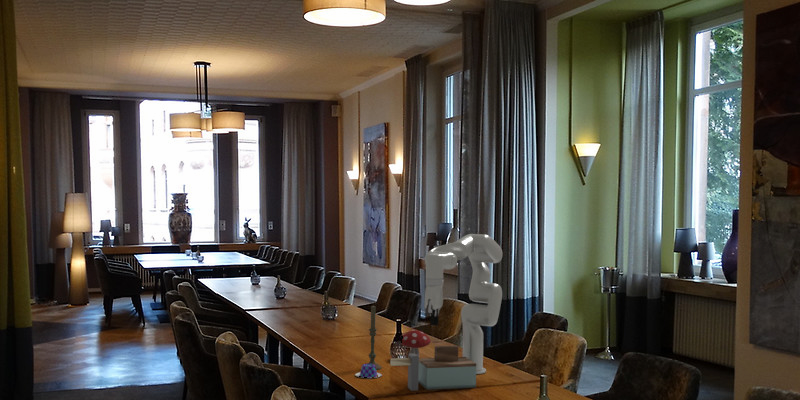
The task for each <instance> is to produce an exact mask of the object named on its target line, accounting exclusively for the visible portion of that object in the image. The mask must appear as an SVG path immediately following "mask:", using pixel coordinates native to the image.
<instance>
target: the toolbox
mask: <svg viewBox="0 0 800 400" xmlns="http://www.w3.org/2000/svg"><path fill="white" fill-rule="evenodd" d="M407 358H411V365H407V389H409V390H410V391H411V392H416V391H419V384H420V385H421V386H422V387H424V389H425V390H427V391H428V390H429V391H430V390H448V389H469V388H470V389H471V388H477V374H476V366H472V367H446V368H426V367H425V366H424V365H422V364H421V363H420V362H419V358H420V355H419V356H418V355H417V354H415V353H414V354H410V353H408V357H407Z"/></svg>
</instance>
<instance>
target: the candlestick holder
mask: <svg viewBox="0 0 800 400" xmlns="http://www.w3.org/2000/svg"><path fill="white" fill-rule="evenodd" d="M368 331H369V333H368V334H369V336H371V337H370V353H369V354H368V358H369V362H367V363H366V364H374V365H375V367H376V371H378V370H381V369H383V367H382V365H380V364H379V363H377V362H376V361H375V359H376V357H377V353H375V351H374V350H375V341H376V340H375V336H376V335H377V331H378V329H377V328H376V306H375V305H374V304H372V306H370V328H369V329H368Z"/></svg>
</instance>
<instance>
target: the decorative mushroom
mask: <svg viewBox="0 0 800 400" xmlns="http://www.w3.org/2000/svg"><path fill="white" fill-rule="evenodd" d="M401 336H403V339H402V344H401V345H402V346H404V347H406V348H409V354H414V353H415V354H417V355H418V356H419V357H420V349H421V348H424V347H427V346H429V345H430V343H431V342H432V340H431V338H430V336H429V335H428V334H426V333H425V332H423V331H420V330H417V329H411V330H408V331H407V332H406V331H405V333H403V334H402V335H401Z"/></svg>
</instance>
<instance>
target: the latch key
mask: <svg viewBox="0 0 800 400" xmlns="http://www.w3.org/2000/svg"><path fill="white" fill-rule="evenodd" d="M389 365H390V366H391V367H398V366H399V367H400V366H402V367H403V366H404V367H405V366H408V365H411V358H408V357H403V358H397V357H396V358H390V360H389Z"/></svg>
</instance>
